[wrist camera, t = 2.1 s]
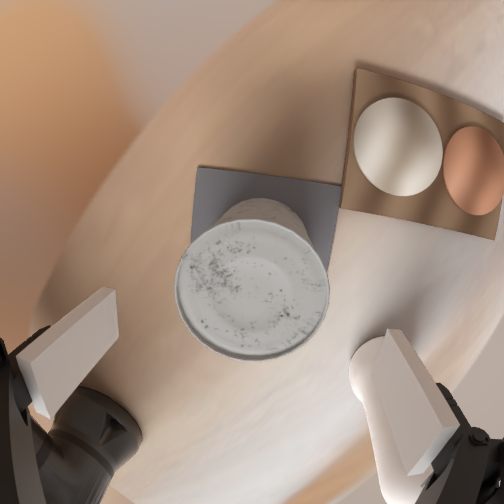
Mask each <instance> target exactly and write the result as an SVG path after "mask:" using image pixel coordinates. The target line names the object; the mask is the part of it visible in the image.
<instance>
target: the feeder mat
mask: <svg viewBox="0 0 504 504" xmlns="http://www.w3.org/2000/svg"><path fill="white" fill-rule="evenodd" d="M341 190H342V186H336V185H330V184H324V183H318V182H312V181H306V180H299V179H292V178H285V177H278V176H271V175H263V174H255V173H247V172H238V171H229V170H220V169H209V168H198V167H197V174H196V184H195V194H194V205H193V217H192V229H191V243H192V242H193V241H194V240H195V239H196V238H197V237H199V236H200V235H201V234H202V233H203V232H204V231H206V230H208V229H209V228H210V227H211V226H213V225H214V224H215V223H216V222H217V221H218V220H219V219H220V218H221V217H222V216H223V214H224V213H225V212H227V211H228V210H229V209H230V208H231V207H232V206H234V205H236V204H238V203H240V202H242V201H245V200H249V199H254V198H266V199H271V200H275V201H278V202H280V203H282V204H284V205H286V206H287V207H289V208H290V209H291V210H293V211H294V212H295V213H296V214H297V215H298V217H299V218H300V219H301V220H302V222H303V224H304V226H305V228H306V230H307V235H308V237H309V239H310V241H311V243H312V245H313V247H314V249H315V250H316V252H317V253H318V254H319V256H320V258H321V260H322V262H323V264H324V266H325V268H326V271H327V269H328V264H329V259H330V254H331V249H332V243H333V238H334V232H335V227H336V221H337V215H338V209H339V203H340V196H341ZM191 243H190V244H191Z"/></svg>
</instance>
